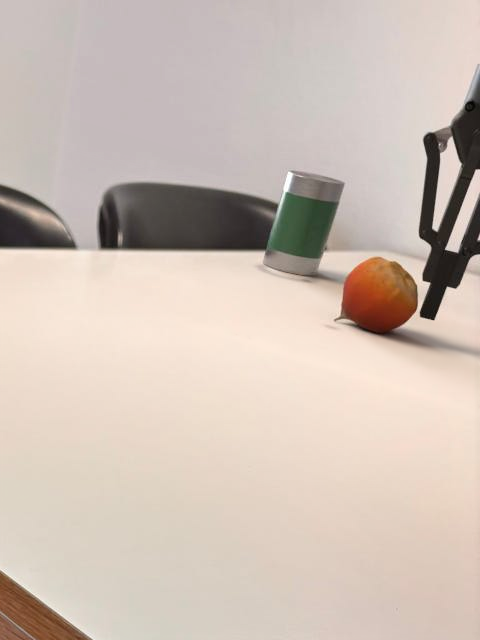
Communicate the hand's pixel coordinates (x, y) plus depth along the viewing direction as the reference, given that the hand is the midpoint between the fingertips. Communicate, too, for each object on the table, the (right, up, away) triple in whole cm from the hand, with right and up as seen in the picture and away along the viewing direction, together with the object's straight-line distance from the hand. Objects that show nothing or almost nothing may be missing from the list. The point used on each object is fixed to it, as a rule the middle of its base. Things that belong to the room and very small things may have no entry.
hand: (426, 316), depth 112 cm
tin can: (-8, +14, +25) cm, 30 cm away
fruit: (-5, -1, +2) cm, 6 cm away
